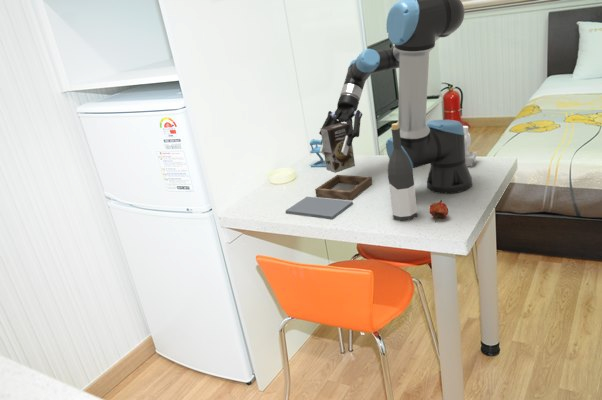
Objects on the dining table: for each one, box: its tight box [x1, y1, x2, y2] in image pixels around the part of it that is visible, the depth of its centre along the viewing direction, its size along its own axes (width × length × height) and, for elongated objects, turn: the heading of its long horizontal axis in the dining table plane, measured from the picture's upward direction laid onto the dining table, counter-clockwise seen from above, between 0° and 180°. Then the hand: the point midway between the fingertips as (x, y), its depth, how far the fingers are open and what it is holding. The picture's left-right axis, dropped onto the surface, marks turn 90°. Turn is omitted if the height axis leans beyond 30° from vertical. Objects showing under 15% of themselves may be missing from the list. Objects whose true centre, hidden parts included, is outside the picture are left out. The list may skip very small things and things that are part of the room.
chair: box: [309, 138, 326, 168], centre depth 225 cm, size 8×8×12 cm
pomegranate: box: [428, 199, 449, 223], centre depth 155 cm, size 6×6×8 cm
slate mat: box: [285, 196, 354, 220], centre depth 180 cm, size 20×13×1 cm, turn 54°
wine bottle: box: [387, 122, 418, 222], centre depth 157 cm, size 8×8×30 cm
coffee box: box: [319, 122, 356, 174], centre depth 187 cm, size 9×6×16 cm
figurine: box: [463, 125, 478, 167], centre depth 193 cm, size 7×9×15 cm
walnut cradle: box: [314, 174, 373, 201], centre depth 191 cm, size 15×15×3 cm
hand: (332, 153), depth 185 cm, fingers closed on coffee box, 9 cm apart
